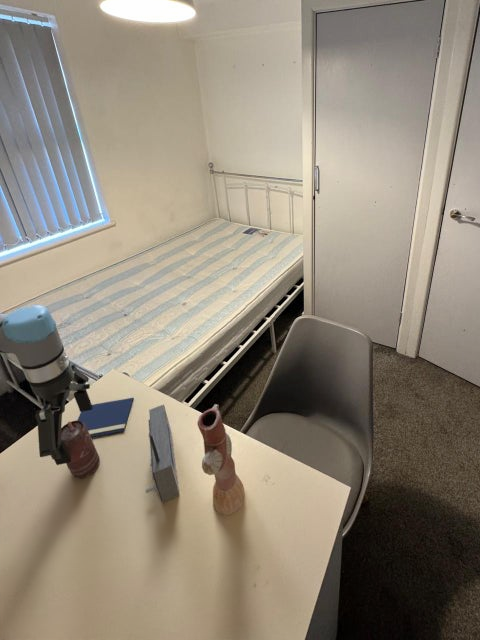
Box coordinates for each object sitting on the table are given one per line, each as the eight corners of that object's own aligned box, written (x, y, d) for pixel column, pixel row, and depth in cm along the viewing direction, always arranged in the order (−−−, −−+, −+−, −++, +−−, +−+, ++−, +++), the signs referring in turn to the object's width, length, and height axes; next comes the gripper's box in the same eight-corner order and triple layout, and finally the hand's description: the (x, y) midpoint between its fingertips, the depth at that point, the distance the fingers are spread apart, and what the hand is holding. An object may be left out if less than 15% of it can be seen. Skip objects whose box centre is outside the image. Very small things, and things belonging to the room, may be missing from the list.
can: (94, 449, 86) (79, 413, 80) (103, 465, 82) (88, 429, 76) (68, 467, 81) (50, 430, 76) (76, 485, 78) (58, 449, 72)
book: (68, 442, 87) (67, 440, 87) (84, 407, 97) (83, 405, 97) (124, 431, 90) (123, 429, 90) (133, 398, 100) (133, 396, 99)
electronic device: (180, 494, 76) (165, 440, 68) (149, 509, 73) (129, 454, 65) (171, 431, 90) (158, 379, 82) (145, 441, 87) (129, 389, 79)
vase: (225, 472, 80) (211, 387, 68) (251, 484, 78) (242, 398, 65) (199, 520, 71) (178, 432, 59) (227, 535, 69) (211, 446, 56)
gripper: (40, 419, 60) (72, 485, 69) (89, 330, 82) (108, 389, 91) (-7, 427, 58) (32, 493, 67) (56, 334, 80) (79, 394, 89)
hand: (76, 434), depth 79 cm, fingers open, 13 cm apart
